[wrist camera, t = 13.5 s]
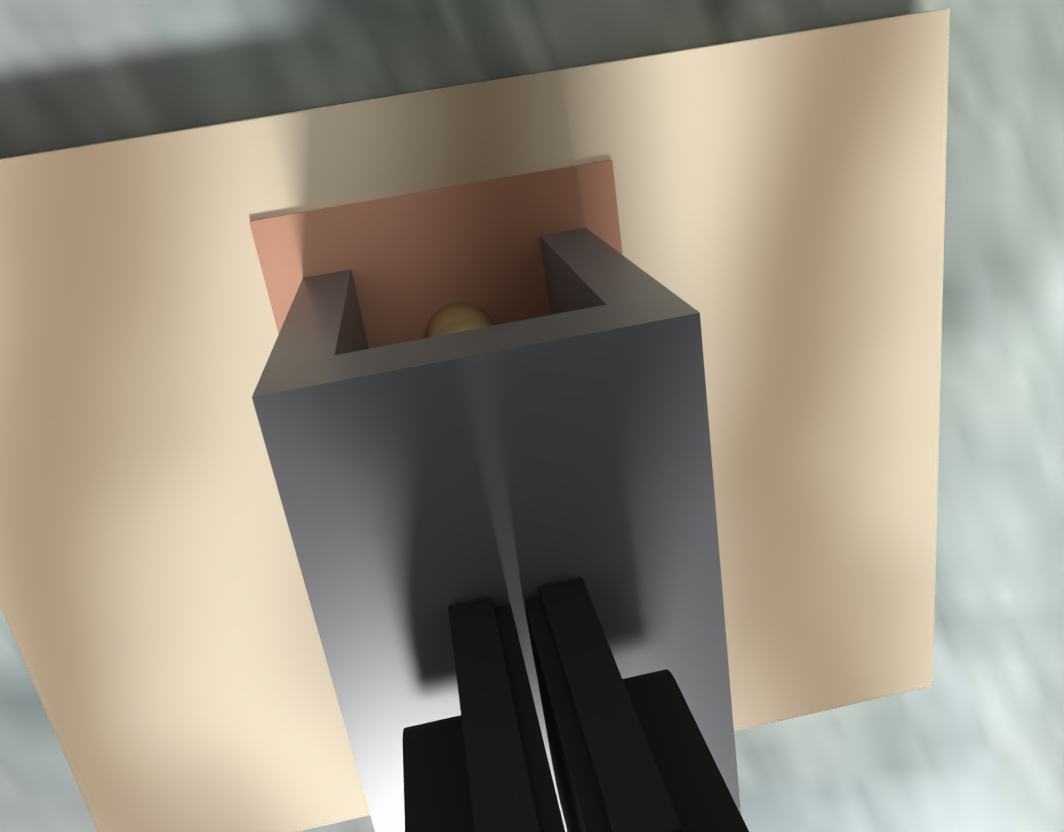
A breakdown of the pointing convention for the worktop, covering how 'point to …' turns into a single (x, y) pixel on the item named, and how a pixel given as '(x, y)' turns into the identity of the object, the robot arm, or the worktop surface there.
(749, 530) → the pin board
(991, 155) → the worktop surface
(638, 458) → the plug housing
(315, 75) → the worktop surface
